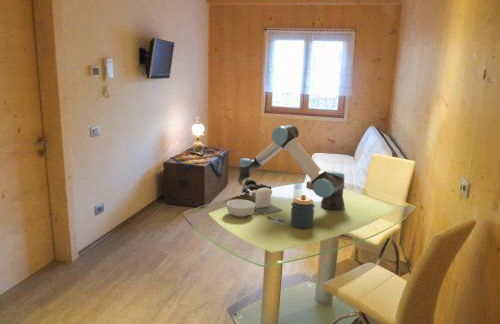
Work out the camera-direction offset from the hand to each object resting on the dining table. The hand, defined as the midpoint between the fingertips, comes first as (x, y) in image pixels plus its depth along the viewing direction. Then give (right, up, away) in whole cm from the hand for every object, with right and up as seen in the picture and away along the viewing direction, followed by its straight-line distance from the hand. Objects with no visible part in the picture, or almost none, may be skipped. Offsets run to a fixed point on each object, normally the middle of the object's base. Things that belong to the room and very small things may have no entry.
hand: (261, 193), depth 243 cm
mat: (+1, -9, 0) cm, 9 cm away
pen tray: (+51, +1, +55) cm, 75 cm away
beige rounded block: (+1, -9, 0) cm, 9 cm away
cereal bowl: (-13, -12, -14) cm, 22 cm away
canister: (+22, -16, -26) cm, 37 cm away
